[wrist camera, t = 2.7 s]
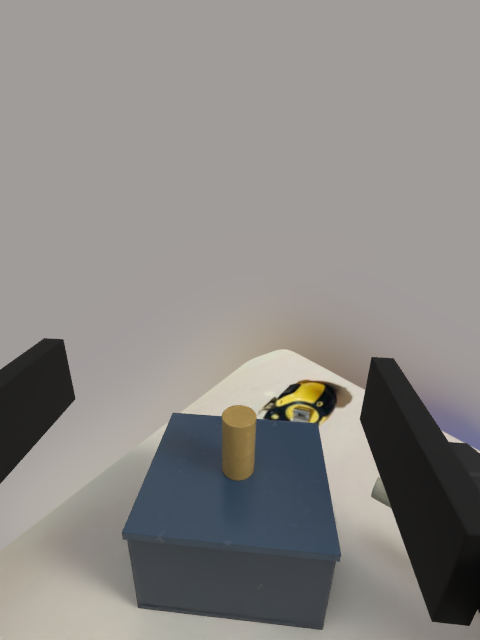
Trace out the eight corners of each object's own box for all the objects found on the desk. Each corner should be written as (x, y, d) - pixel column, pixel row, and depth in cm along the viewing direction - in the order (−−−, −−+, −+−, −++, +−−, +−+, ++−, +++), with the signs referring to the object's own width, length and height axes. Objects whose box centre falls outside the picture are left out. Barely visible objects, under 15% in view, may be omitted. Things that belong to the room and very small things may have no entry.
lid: (122, 539, 26) (111, 473, 24) (173, 418, 40) (169, 367, 37) (339, 562, 25) (353, 495, 23) (317, 429, 38) (324, 376, 36)
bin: (138, 607, 30) (126, 539, 27) (178, 478, 43) (174, 420, 40) (322, 630, 29) (336, 561, 25) (307, 490, 42) (315, 431, 38)
